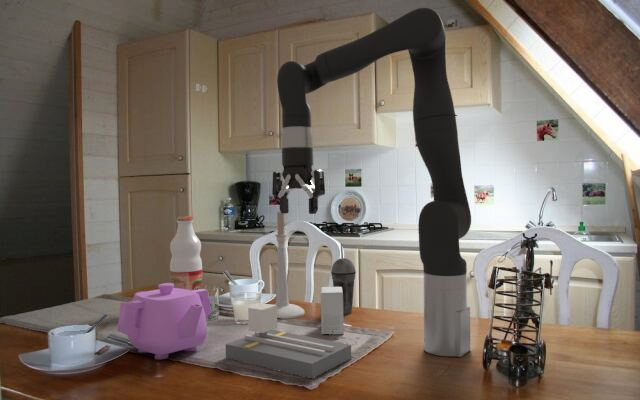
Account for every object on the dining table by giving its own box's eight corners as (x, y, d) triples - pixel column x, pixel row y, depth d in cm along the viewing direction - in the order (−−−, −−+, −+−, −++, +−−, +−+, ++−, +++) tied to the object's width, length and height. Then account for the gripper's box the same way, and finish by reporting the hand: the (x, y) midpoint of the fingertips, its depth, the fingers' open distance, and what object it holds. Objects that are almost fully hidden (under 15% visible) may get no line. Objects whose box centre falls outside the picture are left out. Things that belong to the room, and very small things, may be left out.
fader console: (351, 358, 112) (351, 341, 112) (312, 379, 100) (312, 359, 100) (268, 341, 125) (268, 325, 125) (225, 358, 113) (225, 340, 113)
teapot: (202, 362, 111) (201, 290, 111) (113, 365, 110) (112, 293, 109) (213, 336, 130) (212, 275, 130) (137, 339, 129) (136, 277, 128)
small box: (343, 335, 130) (343, 292, 129) (321, 335, 130) (320, 292, 129) (343, 326, 138) (342, 286, 137) (321, 326, 138) (320, 286, 137)
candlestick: (313, 311, 154) (311, 209, 153) (287, 321, 143) (285, 211, 142) (277, 306, 161) (276, 208, 160) (250, 316, 150) (248, 210, 149)
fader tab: (277, 336, 117) (276, 305, 117) (262, 342, 113) (261, 309, 113) (263, 333, 120) (263, 303, 119) (248, 339, 116) (248, 307, 115)
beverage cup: (360, 310, 155) (359, 242, 154) (351, 316, 148) (350, 245, 148) (337, 308, 158) (336, 241, 157) (327, 313, 151) (326, 244, 151)
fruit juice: (172, 306, 163) (169, 216, 162) (203, 305, 165) (201, 215, 164) (169, 314, 154) (167, 218, 153) (202, 312, 156) (200, 217, 155)
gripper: (330, 146, 127) (331, 213, 127) (283, 149, 135) (285, 212, 136) (312, 144, 121) (313, 215, 121) (264, 147, 129) (266, 214, 129)
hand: (298, 213), depth 128 cm, fingers open, 8 cm apart
